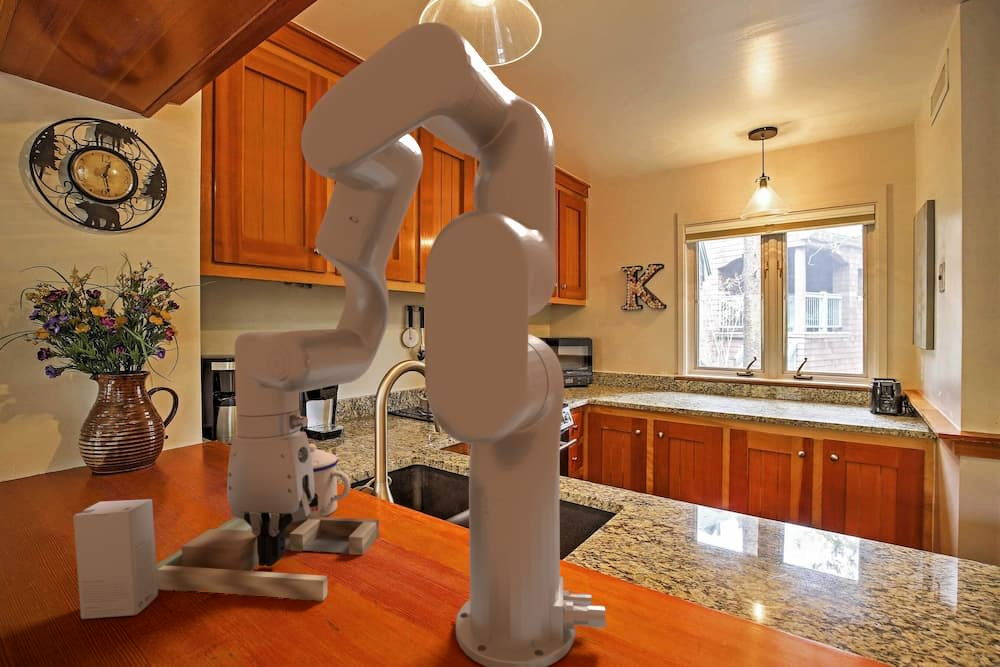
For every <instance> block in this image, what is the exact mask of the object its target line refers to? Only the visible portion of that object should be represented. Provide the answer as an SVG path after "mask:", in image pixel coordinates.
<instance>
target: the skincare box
mask: <svg viewBox="0 0 1000 667" xmlns="http://www.w3.org/2000/svg"><path fill="white" fill-rule="evenodd" d="M153 508H154V507H153V499H151V498H150V499H149V498H148V499H131V500H130V499H129V500H127V499H126V500H107V501H98V502H97V503H94V504H93V505H91V506H89V507H87V508H84V509H83V510H81V511H80V512H77V513H76V514H74V515H73V516H72V520H73V521H72V522H73V530H74V541H75V543H74V544H75V556H76V569H77V571H76V572H77V581H78V582H77V583H78V584H77V585H78V595H79V596H78V597H79V610H80V612H79V613H80V618H81V619H82V620H86V619H100V618H101V619H102V618H103V619H104V618H114V617H129V616H136V615H138V614H139V613H141V612H142V611H143V610H144V609H145V608H146V607H148V606H149V605H150V604H151V603H152V602H153V601H154V600H155V599H156V598H157V597H158V596H159V589H158V586H157V569H156V564H157V558H156V557H157V556H156V553H157V552H156V540H155V525H154V514H153V513H154V511H153V510H154V509H153Z"/></svg>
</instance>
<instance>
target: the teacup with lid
mask: <svg viewBox="0 0 1000 667" xmlns="http://www.w3.org/2000/svg"><path fill="white" fill-rule="evenodd" d="M309 446H310V451H311V457H312V464H313V473H314V488H315V493H314V498H313V500H311V501H309V502H308V503H309V507H310V511H311V514H310V516H313V517H329V515H331V514H333V513H334V512H335V511H336V510H337V507H338V501H340V500H343V499H344V498H346V497H347V496H348V494H349V492H350V489H351V480H350V477H349V476H348V474H346V472H343V471H341V470H339V471H338V470H337V467H338V466H337V464H338V463H339V459H338V456H336V455H335V454H334V453H331V452H326V451H324V450H321V449H318V448H317V445H316V444H315V443H309ZM337 478H340V479H341V480H342V482H343V484H344V486H343V487H344V488H343V491H342V493H341V494H339V495H338V479H337Z"/></svg>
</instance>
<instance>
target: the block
mask: <svg viewBox="0 0 1000 667" xmlns="http://www.w3.org/2000/svg"><path fill="white" fill-rule="evenodd" d="M181 549H182V567H197V568H212V569H228V570H243V571H251V570H253V569H254V568H255V567H256V566H258V565H259V556H258V552H257V536H255V535H254V534H253V533H252V531H248V530H221V529H216V528H210V529H207V530H205V531H204V532H203V533H201V534H200V535H198V536H195V538H192V539H191V540H189V541H188V542H187V543H185V544H183V545H181Z"/></svg>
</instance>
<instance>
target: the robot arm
mask: <svg viewBox="0 0 1000 667" xmlns="http://www.w3.org/2000/svg"><path fill="white" fill-rule="evenodd" d="M420 127H421V128H424V130H427V131H428V132H429V133H430V134H432V135H433V136H434V137H436V138H437V139H438V140H440V141H442V142H444V143H445V144H446V145H448V146H449V147H451V148H452V149H454V150H456V151H458V152H460V153H461V154H464V155H466V156H469V157H471V158H473V159H475V160H477V161H478V162H479V164H478V166H477V169H476V173H475V176H474V181H473V189H472V190H473V191H472V192H473V193H472V195H473V196H472V197H473V210H471V211H470V210H469V211H467V212H464V213H461V214H459V215H458V216H455V217H454V218H453V219H451V220H449V222H448V223H447V224H446V225H445V226H443V228H442V229H441V230H440V232H439V233H438V235H437V236H436V237H435V239H434V241H433V243H432V246H431V249H430V250H429V254H428V258H427V261H426V266H425V274H424V383H425V385H424V386H425V392H426V399H427V402H428V405H429V409H430V412H431V414H432V416H433V417H434V419H435V421H436V423H437V424H438V426H439V427H440V428H441V429H442V431H444V433H446V434H447V435H448V436H449V437H450V438H452V439H454V440H456V441H458V442H460V443H463V444H466V445H470V446H469V447H470V448H469V457H468V458H469V461H468V462H469V463H468V516H469V517H468V521H469V524H468V525H469V526H468V529H469V530H468V532H469V534H468V535H469V536H468V537H469V600H467V601H466V602H465V603H464V605H462V606H461V608H460V609H459V611H458V613H457V615H456V619H455V635H456V641H457V643H458V644H459V648H460V649H461V650H462V651H463V652H464V653H465V655H467V656H468V657H469V658H470V659H472V660H473V661H474V662H476V663H478V664H479V665H481V666H484V667H549V666H551V665H553V664H556V663H557V662H558V661H559V660H561V659H562V658H563V657H565V656H566V655H567V653H569V651H570V650H571V648H572V646H573V644H574V641H575V637H576V626H585V627H589V628H601V629H606V626H607V623H606V620H607V619H606V617H607V616H606V608H605V605H595V604H592V593H570V590H565V589H564V578H563V576H561V566H560V565H561V564H560V563H561V562H560V561H561V560H560V558H561V554H560V553H561V549H560V548H561V547H560V546H561V543H560V542H561V541H560V536H561V534H560V532H561V530H560V519H561V518H560V487H561V486H560V483H561V482H560V480H561V479H560V471H561V470H560V469H561V468H560V467H561V466H560V465H561V464H560V457H561V455H560V454H561V448H560V446H561V432H562V431H561V429H562V420H563V410H564V396H565V382H564V381H565V380H564V373H563V370H562V369H563V368H562V366H561V363H560V360H559V358H558V356H557V355H556V353H555V352H554V350H553V349H552V348H551V346H550V345H549V344H547V343H546V342H545V341H543V340H542V339H540V338H538V337H537V336H534V335H533V334H529V317H531V316H534V315H536V314H537V313H539V312H541V311H542V310H543V309H544V308H545V307H546V306H547V304H548V303H549V302H550V300H551V298H552V296H553V294H554V292H555V288H556V284H557V283H556V282H557V281H556V280H557V256H556V253H557V252H556V246H557V245H556V243H557V242H556V239H557V236H556V234H557V232H556V231H557V228H556V227H557V225H556V223H557V219H556V217H557V215H556V214H557V206H556V205H557V203H556V147H555V146H556V145H555V140H554V135H553V132H552V128H551V126H550V123H549V122H548V120H547V118H546V117H545V115H544V114H543V113H542V112H541V110H539V108H538V107H537V106H535V105H534V104H533V103H532V102H529V101H528V100H526V99H525V98H523V97H521V96H519V95H517V94H516V93H514V92H513V91H512V90H510V89H509V88H508V87H506V86H505V85H504V84H503V83H502V82H501V81H500V80H499V78H498V77H497V76H496V75H495V74H494V72H493V71H492V70H491V69H490V67H488V65H487V64H486V63H485V61H483V59H482V57H480V55H479V54H478V52H477V51H476V50H475V49H474V48H473V46H472V44H470V42H468V40H467V39H466V38H465V37H464V36H463V35H462V34H461V33H460V32H458V31H457V30H456V29H454V28H452V27H451V26H450V25H446V24H443V23H440V22H433V21H431V22H423V23H419V24H416V25H413V26H410V27H409V28H407V29H405V30H404V31H402V32H400V33H399V34H397V35H396V36H394V37H393V38H391V40H389V41H388V42H386V43H385V44H384V45H383V46H381V47H380V48H379V49H378V50H376V51H375V52H374V53H373V54H371V55H370V56H369V57H368V58H366V59H365V60H364V61H363V62H361V63H359V64H358V65H357V66H356V67H354V68H353V69H352V70H350V71H349V72H348V73H347V74H345V75H344V76H342V78H340V79H339V80H338V81H337V82H336V83H335V84H333V86H331V87H330V88H329V89H328V90H327V91H326V92H325V93H324V94H323V95H322V97H320V98H319V100H318V101H317V102H316V104H315V105H314V106H313V108H312V109H311V110H310V112H309V114H308V115H307V117H306V120H305V121H304V125H303V128H302V130H301V138H300V147H301V151H302V154H303V158H304V160H305V161H306V163H307V165H308V166H309V167H310V168H311V169H312V170H313V171H314V172H315V173H316V174H319V175H320V176H322V177H323V178H326V179H328V180H329V179H330V180H332V181H334V182H335V185H334V188H333V190H332V193H331V196H330V199H329V201H328V205H327V207H326V210H325V213H324V216H323V218H322V221H321V224H320V227H319V230H318V232H317V235H316V237H315V247H316V250H317V251H318V253H319V254H320V256H322V257H323V258H324V259H325V260H326V261H328V262H329V263H330V264H331V265H332V266H334V267H335V268H336V269H337V270H338V272H339V273H340V275H341V278H342V280H343V282H344V285H345V286H344V287H345V300H344V301H345V302H344V306H343V310H342V312H341V315H340V318H339V321H338V323H337V325H336V328H331V329H330V328H329V329H327V328H326V329H305V330H304V329H303V330H301V329H300V330H289V331H250V332H249V331H248V332H243V333H241V334H239V335H238V336H237V337H236V340H235V342H234V381H235V384H234V385H235V417H236V418H235V421H236V423H235V424H236V435H234V436H233V437H232V441H231V445H230V451H229V458H228V466H227V483H226V489H227V490H226V494H227V502H228V506H229V508H230V509H231V511H230V515H231V516H232V517H233V518H234V517H237V518H240V519H243V520H244V519H245V521H246V522H247V523H248V524H249V525H250V526H251V527H252V533H253V534H254V535H255V536H257V552H258V556H259V567H264V566H266V567H271V568H272V566H274V565H275V564H276V563H277V562H279V561H280V560H281V559H282V558H283V557H284V555H285V553H286V551H285V529H286V528H287V527H288V526H289V524H290V523H291V522H296V521H301V520H304V519H306V518H307V517H308V516H310V514H311V511H310V507H309V503H308V502H309V501H311V500H313V498H314V493H315V488H314V473H313V464H312V457H311V451H310V446H309V444H310V442H309V440H308V436H307V433H306V431H301V428H302V427H304V428H305V427H307V426H308V424H309V423H308V422H309V420H308V417H307V416H302V415H301V409H300V393H304V392H309V391H313V390H314V391H315V390H319V389H323V388H328V387H332V386H338V385H344V384H349V383H352V382H355V381H357V380H358V379H360V378H361V377H362V376H363V375H365V373H367V372H368V370H369V368H371V367H370V366H371V365H372V363H373V361H374V359H375V358H376V356H377V352H378V350H379V348H380V345H381V344H382V342H383V338H384V336H385V332H386V330H387V327H388V324H389V315H390V314H389V313H390V312H389V311H390V306H389V304H390V303H389V300H390V299H389V296H390V295H389V289H388V288H389V287H388V282H387V279H386V268H387V265H388V261H389V258H390V256H391V253H392V252H393V249H394V246H395V244H396V240H397V238H398V236H399V235H398V234H399V233H400V230H401V227H402V225H403V223H404V220H405V218H406V216H407V213H408V210H409V208H410V206H411V202H412V199H413V197H414V194H415V192H416V190H417V188H418V185H419V181H420V178H421V176H422V172H423V168H424V158H423V157H424V156H423V153H422V150H421V147H420V146H419V144H418V143H417V141H416V140H415V139H414V137H412V135H411V133H412V132H414V131H415V130H417V129H419V128H420Z"/></svg>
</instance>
